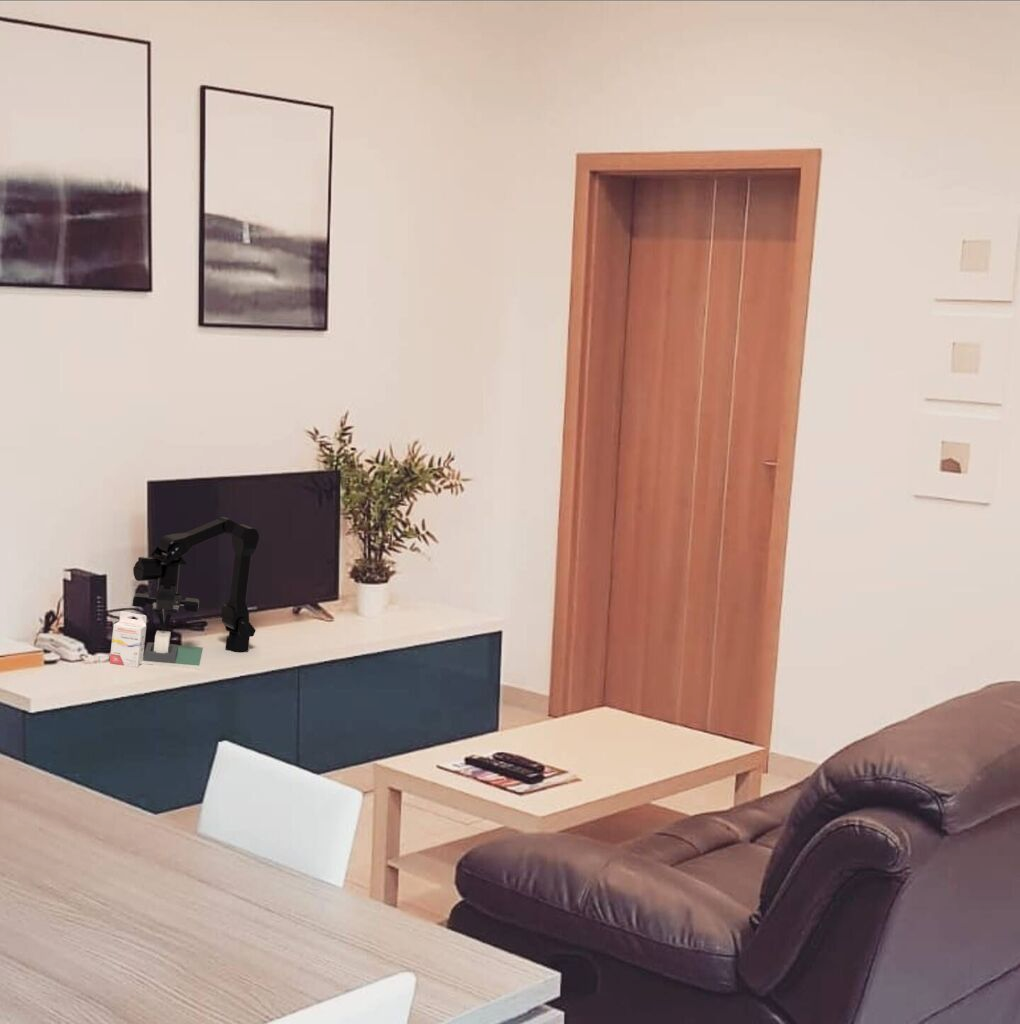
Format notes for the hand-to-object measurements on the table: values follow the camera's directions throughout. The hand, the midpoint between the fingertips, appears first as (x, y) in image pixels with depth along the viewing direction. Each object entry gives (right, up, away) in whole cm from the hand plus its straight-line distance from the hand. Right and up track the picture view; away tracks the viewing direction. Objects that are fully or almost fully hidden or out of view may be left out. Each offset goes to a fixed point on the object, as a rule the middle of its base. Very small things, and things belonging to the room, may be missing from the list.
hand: (163, 630), depth 451 cm
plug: (-1, -8, +1) cm, 8 cm away
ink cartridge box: (-9, -9, -7) cm, 15 cm away
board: (+2, -8, +6) cm, 10 cm away
